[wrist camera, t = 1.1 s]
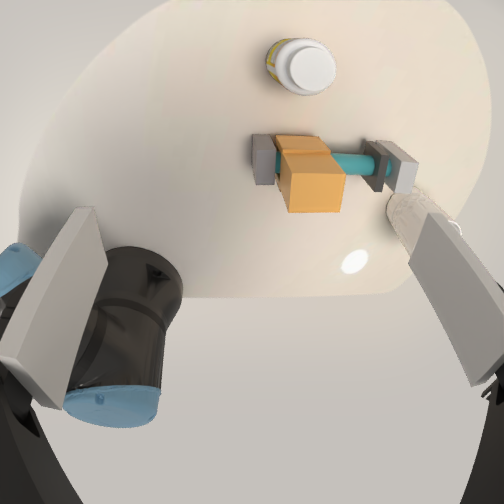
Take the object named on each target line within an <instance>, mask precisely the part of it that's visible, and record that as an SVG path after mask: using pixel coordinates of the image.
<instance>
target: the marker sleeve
mask: <svg viewBox="0 0 504 504" xmlns="http://www.w3.org/2000/svg"><path fill="white" fill-rule="evenodd" d="M275 148H276V152H280V153H281V164H280V173H275V178H276V181H277V184H278V187H279V190H280V192H282V195H283V198H284V201H285V204H286V207H287V210H288V213H314V212H340V208H341V202H342V197H343V191H344V185H345V179H346V173H345V172H344V171H343V170H342V168H341V167H340V166H339V164H338V163H337V162H336V161H335V159H334V158H333V157H332V156H331V155H330V154H331V150H330V149H329V148H328V147H327V146H326V145H325V143H324V142H323V141H322V140H321V139H320V138H319V137H315V136H286V135H276V143H275Z"/></svg>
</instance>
